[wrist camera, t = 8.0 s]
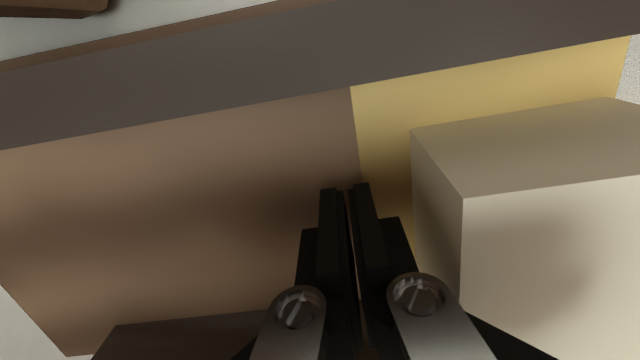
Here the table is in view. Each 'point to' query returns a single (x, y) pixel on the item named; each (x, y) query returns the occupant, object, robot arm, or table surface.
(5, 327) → the table surface
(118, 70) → the tunnel deck
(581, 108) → the cream block
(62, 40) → the table surface
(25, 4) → the block
